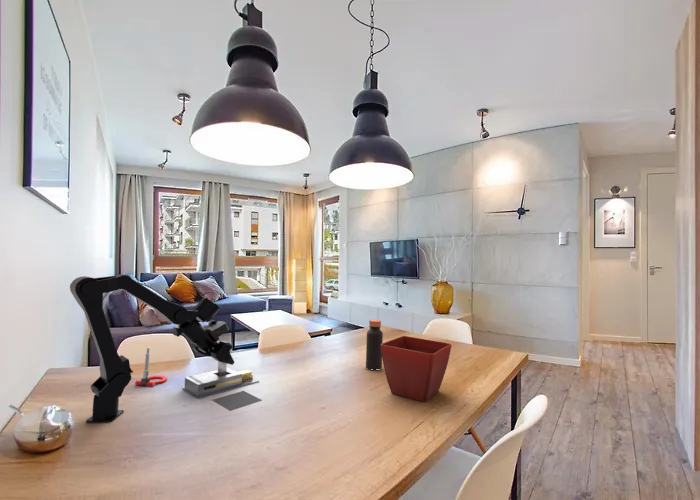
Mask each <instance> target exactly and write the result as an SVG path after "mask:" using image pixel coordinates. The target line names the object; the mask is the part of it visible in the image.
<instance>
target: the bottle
mask: <svg viewBox="0 0 700 500" xmlns="http://www.w3.org/2000/svg"><path fill="white" fill-rule="evenodd" d="M368 322H369V323H368V324H369V327H368V328H369V329H368V330H367V331H366V348H365V349H366V350H365V354H366V355H365V368H366V369H367V368H368V369H373V370H372V371H374V370H376V369H381V368H382V367H383V359H382V353H381V344H382V343H384V342H383V339H384V335H383V334H384V333H383V331H382V330H381V325H382V321H381V319H380V320H379V319H370V320H369V321H368ZM368 369H367V370H368ZM381 370H382V369H381ZM376 371H377V370H376Z"/></svg>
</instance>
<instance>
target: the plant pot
mask: <svg viewBox="0 0 700 500" xmlns="http://www.w3.org/2000/svg"><path fill="white" fill-rule="evenodd" d="M451 350H452V343H449V342H444V341H443V342H442V341H438V340H430V339H424V338H421V337H420V338H419V337H414V336H407V335H403V336H398V337H396V338H393V339H391V340H387V341H385V342H383V343H382V344H381V353H382V366H383V368H384V369H383V370H384V374H385V377H386V381H387V384H388V387H389V390H390V392H391V393H392V394H395V395H398V396H401V397H405V398H408V399H412V400H416V401H419V402H422V403H423V402H427V401H429V400H430V399H431V398H432V397H433V396H435V395H436V394H437V393H439V391H440V388H441V387H442V386H441V385H442V382H443V380H444V377H445V374H446V372H447V367H448V363H449V359H450V357H451V356H450V355H451Z"/></svg>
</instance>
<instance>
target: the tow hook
mask: <svg viewBox="0 0 700 500" xmlns="http://www.w3.org/2000/svg"><path fill="white" fill-rule="evenodd" d="M150 355H151V354H150V347H146V353H145V358H144V359H145V360H144V370H143V373H142V375H143V377H141V379H140V380H135V382H134V384H135V385H136V386H142V387H151V388H152V387H153V388H154V387H155V386H156V385H158V384H159V385H160V384H163V383H165V382H167V380H168V377H167V376H164V375H151V376H150V374H149V372H150V370H149V366H150ZM150 380H151V381H150ZM153 380H154V381H153Z"/></svg>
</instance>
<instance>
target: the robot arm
mask: <svg viewBox="0 0 700 500" xmlns="http://www.w3.org/2000/svg"><path fill="white" fill-rule="evenodd" d="M69 290H70V294H72V296H73V298H74V299H75V301H76V302H77V305H79V307H80V308H81V310H83V312H84V315H85V318H86V321H87V323H88V327H89V330H90V333H91V336H92V338H93V341H94V345H95V346H96V347H95V348H96V351H97V354H98V356H99V373H100V374H99V375H100V376H99V377H98V378H97V379H96V380H95V381H94V382H93V383H92V384H91V385H90V389H91V392H92V393H94V395H93V401H92V415H91V416H90V417H89V418H87V419H86V420H85V423H112V422H113V421H114V420H115V419H117V418H118V417H119V416H121V415H122V414H123V413H124V411H125V410H124V409H119V402H120V401H119V400H120V397H121V396H122V395H123V392H124V390H125V388H126V387H127V386H128V385H129V384H130V382H131V381H132V374H133V373H134V371H133V370H132V368H131V365H130V359H129V358H127V357H126V356H124V355H123V354H122V355H119V354H118V351H117V350H118V349H117V347H116V343H115V341H114V339H113V335H112V332H111V329H110V326H109V323H108V320H107V317H106V313H105V311H104V294H107V293H111V292H115V291H119V290H122V291H123V292H125V293H127V294H129V295H130V296H133V297H134V298H135V299H137V300H139V301H140V302H142V303H144V304H145V305H147V306H149V307H150V308H152V309H153V310H154V311H156V313H157V314H158V315H159V316H160V317H161V318H162V319H164V321H166V322H168V323H171V324H173V325H177V326H174V327H173V330H172V335H173V336H175V337H181V335H184V336H185V337H186V338H187V339H188V340H189V342H190V343H191V346H190V347H191V349H192V350H193V351H195V352H196V353H198V354H201V355H204V356H207V357H210V358H212V359H214V360H215V361H217V362H218V361H219V362H223V363H227V365H232V366H233V365H234V364H235V361H234V358H233V355H232V354H231V350H232V349H233V346H234V345H233V344H232V343H231V342H230V341H227V340H220V336H222V335H223V334H226V333H228V332H229V331H230V330H229V327H228V325H227V322H225V321H222V320H220V321H219V320H217V321H216V320H213V319H212V318H213V317H215V315H216V314H217V313H218V312H219V311H220V310H221V308H220V306H218V304H217V303H214V302H213V301H212V300H210V299H209V298H208V297H205V296H204V297H202V298H201V299H200V300H199V302H198V303H197V304H196V305H195V306H194V307H193V308H189V307H186V306H183V305H182V304H178V303H176V302H173V301H170V300H167V299H165V298H164V297H162V296H160V295H159V294H157V293H155V292H154V291H153V290H152V289H150V288H148V287H146V286H145V285H142V284H141V283H139V282H138V281H136V280H135V279H134V278H132V276H130V275H128V274H116V275H111V276H110V275H109V276H101V277H90V276H78V277H76V278H75V279H73V280H72V282H71V283H70V284H69ZM200 322H201V323H200ZM205 323H208V326H207V328H206V327H205V326H204V325H202V324H205ZM219 340H220V341H219ZM218 341H219V342H218Z"/></svg>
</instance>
